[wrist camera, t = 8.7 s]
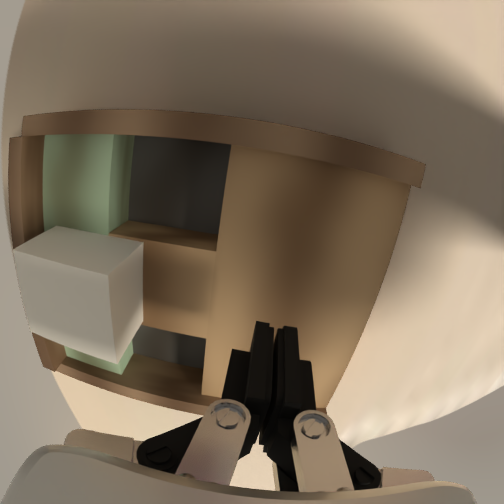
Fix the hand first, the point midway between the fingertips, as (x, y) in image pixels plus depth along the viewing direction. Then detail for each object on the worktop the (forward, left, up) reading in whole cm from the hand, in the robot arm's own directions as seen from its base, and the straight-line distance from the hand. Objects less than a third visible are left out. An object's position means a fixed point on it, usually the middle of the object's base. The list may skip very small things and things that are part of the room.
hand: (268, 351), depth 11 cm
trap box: (+4, 0, -7) cm, 8 cm away
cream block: (+10, 0, -4) cm, 11 cm away
